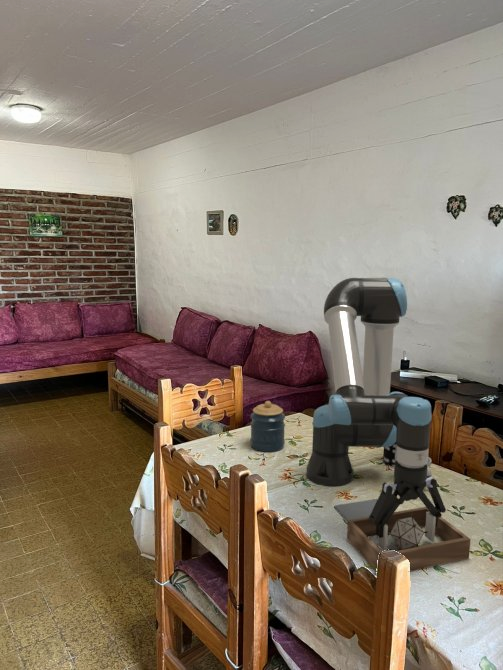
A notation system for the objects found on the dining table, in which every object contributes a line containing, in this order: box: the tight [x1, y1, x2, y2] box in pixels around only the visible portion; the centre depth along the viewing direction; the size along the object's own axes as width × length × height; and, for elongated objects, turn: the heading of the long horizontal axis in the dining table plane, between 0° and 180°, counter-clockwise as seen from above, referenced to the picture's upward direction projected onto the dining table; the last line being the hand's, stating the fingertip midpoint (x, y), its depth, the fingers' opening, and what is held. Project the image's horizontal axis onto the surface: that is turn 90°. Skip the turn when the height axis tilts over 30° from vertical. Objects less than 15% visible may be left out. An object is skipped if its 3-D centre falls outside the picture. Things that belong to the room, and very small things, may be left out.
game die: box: [387, 514, 428, 550], centre depth 120 cm, size 9×8×10 cm
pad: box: [333, 498, 378, 523], centre depth 137 cm, size 12×14×1 cm
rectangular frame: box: [346, 506, 471, 572], centre depth 121 cm, size 16×24×5 cm, turn 107°
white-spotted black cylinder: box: [382, 441, 396, 468], centre depth 170 cm, size 8×8×20 cm
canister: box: [250, 400, 286, 453], centre depth 184 cm, size 13×13×18 cm
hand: (406, 543), depth 121 cm, fingers open, 13 cm apart
